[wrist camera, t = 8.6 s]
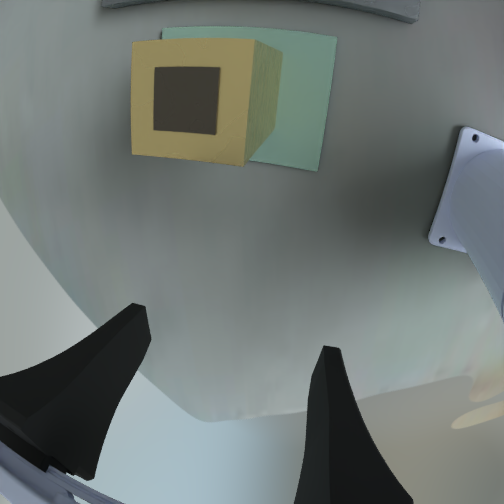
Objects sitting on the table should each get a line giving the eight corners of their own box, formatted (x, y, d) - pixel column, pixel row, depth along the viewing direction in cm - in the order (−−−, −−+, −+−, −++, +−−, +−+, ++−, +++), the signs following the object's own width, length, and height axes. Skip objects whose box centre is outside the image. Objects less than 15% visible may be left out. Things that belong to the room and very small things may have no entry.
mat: (337, 38, 14) (337, 37, 13) (317, 169, 18) (317, 171, 18) (165, 28, 15) (162, 28, 15) (161, 148, 20) (158, 149, 19)
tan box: (283, 52, 15) (254, 39, 8) (274, 128, 17) (242, 167, 11) (203, 48, 15) (131, 42, 9) (199, 120, 18) (130, 155, 11)
